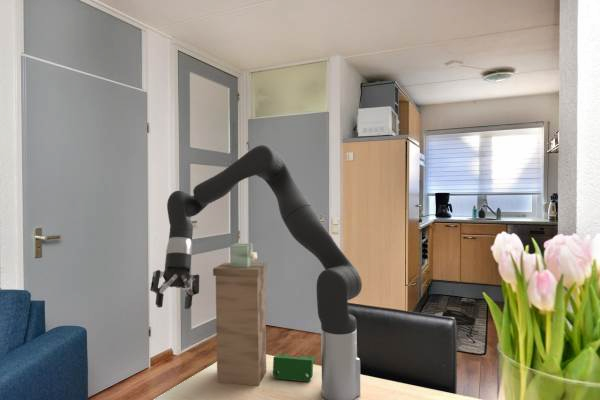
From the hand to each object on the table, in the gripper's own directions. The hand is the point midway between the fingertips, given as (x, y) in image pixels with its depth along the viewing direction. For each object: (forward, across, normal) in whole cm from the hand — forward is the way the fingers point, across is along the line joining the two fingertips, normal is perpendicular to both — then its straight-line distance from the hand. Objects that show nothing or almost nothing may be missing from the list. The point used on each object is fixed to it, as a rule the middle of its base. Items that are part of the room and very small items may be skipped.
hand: (173, 308), depth 114 cm
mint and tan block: (-13, +14, -17) cm, 25 cm away
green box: (+19, +29, -20) cm, 41 cm away
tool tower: (+19, +18, -11) cm, 28 cm away
